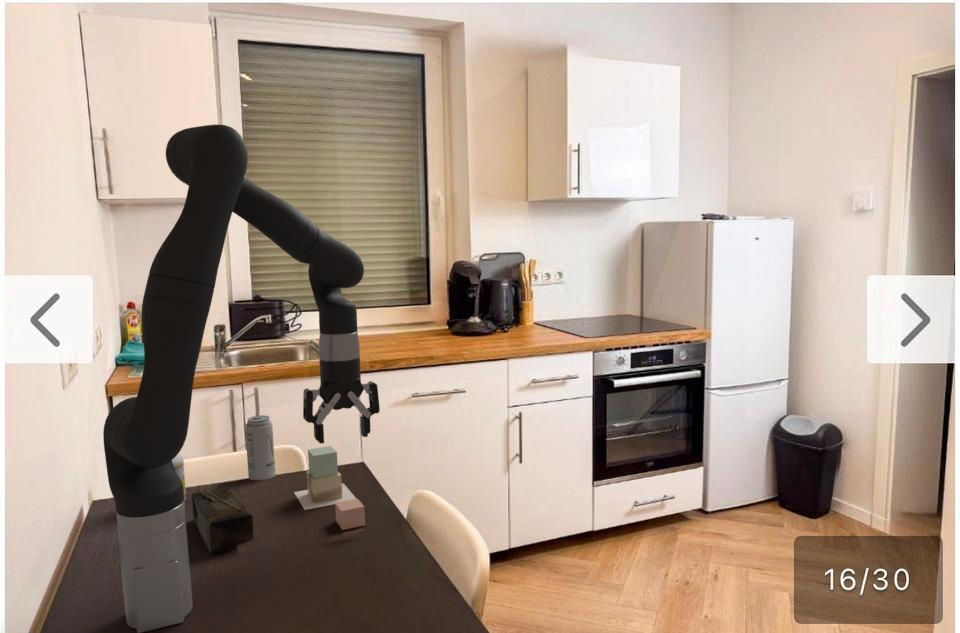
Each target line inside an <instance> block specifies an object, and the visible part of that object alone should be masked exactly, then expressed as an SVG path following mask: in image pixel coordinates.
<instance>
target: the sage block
mask: <svg viewBox="0 0 960 633" xmlns="http://www.w3.org/2000/svg"><path fill="white" fill-rule="evenodd" d="M307 457H308V459H307V460H308V471H309V472H310V474H311V475H312V477H313V478H314V479H318V478H324V477H329V476H335V475H338V472H339V471H338V469H339V467H338V465H339V464H338V452H337V450H336V449H334V448H333V446H332V445H328V446H321V447H316V448H309V449H307Z"/></svg>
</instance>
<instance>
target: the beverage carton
mask: <svg viewBox="0 0 960 633" xmlns="http://www.w3.org/2000/svg"><path fill="white" fill-rule="evenodd" d="M191 505H192V507H191V508H192V519H193V522H194V524H195V525H196V527H197V530H198V531H199V533H200V536H201V538H202V539H203V542H204V544H205V545H206V548H207V549H208V552H210V555H216V554H221V553H224V552H229V551H232V550H237V549H238V548H237V545H236V544H242V543H245V542H248V541H251V540H254V520H253V515H252V514H251V512H250V511H249V509H248V508H247V507H246V506H245V505H244V504H243V502H242V501H241V499H240V498H239V497H238V495H237V494H235V491H233V488H231V486H225V487H219V488H213V489H209V490H208V489H205V488H204V489H201V490H199V491H198V492H194V493H192V494H191Z"/></svg>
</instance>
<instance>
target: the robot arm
mask: <svg viewBox="0 0 960 633" xmlns="http://www.w3.org/2000/svg"><path fill="white" fill-rule="evenodd" d="M247 149H248V148H247V145H246V143H245V140H244V138H243V137H242V135H241V133H239V132H238V131H237V130H236V129H234V128H233V127H232V126H229V125H226V124H207V125H201V126H194V127H188V128H183V129H181V130H179V131H176V132H175V133H174V134H173V135H171V137H170V138H169V139H168V142H167V144H166V147H165V159H166V163H167V166H168V168H169V169H170V172H171V173H172V174H173V176H175V177H176V178H177V179H178V180H179V181H180V182H182V183H183V184H185V185H187V186H188V188H187V192H186V193H187V194H186V196H185V197H186V198H185V200H184V201H185V202H184V204H183V205H184V206H183V208H182V210H181V213H180V216H179V217H178V219H177V220H176V222H175V224H174V226H173V227H172V229H171V230H170V232H169V233H168V234H167V236H166V237H165V240H164V241H163V242H162V244H161V246H159V248H158V250H157V252H156V255H154V258H153V260H152V262H151V265H150V269H149V272H148V276H147V279H146V285H145V289H144V292H143V293H144V294H143V298H142V304H141V330H142V341H143V352H144V354H143V355H144V357H143V358H144V359H143V370H142V374H141V375H142V376H141V380H140V383H139V388H138V392H137V395H136V396H133V397H129V398H126V399H124V400H122V401H120V402H118V403H117V404H115V406H113V408H112V409H111V410H110V411H109V413H108V415H107V416H106V419H105V421H104V426H103V431H102V432H103V433H102V435H103V451H104V459H105V466H106V472H107V474H106V475H107V480H108V486H109V489H110V492H111V494H112V497H113V499H114V505H115V514H116V524H117V536H118V538H117V539H118V546H119V547H118V548H119V549H118V550H119V558H120V569H121V580H122V590H123V592H122V593H123V601H124V613H125V621H126V622H125V623H126V625H127V626H129V627H130V628H132V629H135V630H136V633H144V632H150V631H153V630H157V629H160V628H161V629H162V628H166V627H169V626H173V625H177V624H181V623H184V620H185V618H186V617H187V616H188V615H189V614H190V613H191V611H192V610H193V595H192V594H193V592H192V580H191V569H190V557H189V554H190V553H189V545H188V544H189V541H188V530H187V516H186V502H185V501H186V500H185V501H184V489H183V484H182V481H181V480H180V478H179V476H178V475H177V473H176V471H175V469H174V466H173V463H172V460H173V459H174V458H175V457H176V456H177V454H180V452H181V450H182V449H183V447H184V444H185V442H186V439H187V435H188V432H189V430H188V429H189V424H190V416H191V404H192V397H193V387H194V380H195V375H196V370H197V365H198V361H199V356H200V353H201V348H202V343H203V339H204V333H205V330H206V325H207V321H208V317H209V314H210V310H211V305H212V301H213V300H212V299H213V296H214V292H215V288H216V283H217V282H216V281H217V276H218V272H219V266H220V262H221V258H222V255H223V254H222V253H223V251H224V247H225V241H226V237H227V233H228V228H229V225H230V221H231V218H232V214H233V213H234V214H235V215H236V216H238V217H240V218H241V219H243V220H244V221H245V222H247V223H248V224H249V225H251V226H252V227H254V228H255V229H257V230H258V232H260V233H262V234H263V235H264V236H265V237H267V238H268V239H269V240H271V241H272V242H273V243H274V244H275V245H276V246H278V247H279V248H280V249H281V250H282V251H284V252H285V253H286V254H287V255H288V256H290V257H291V258H292V259H294V260H295V261H297V262H298V263H301V264H307V265H308V270H307V271H308V279H309V283H310V284H309V285H310V288H311V291H312V295H313V297H314V301H315V304H316V307H317V311H318V324H319V326H318V327H319V340H318V358H319V359H318V360H319V375H320V378H319V380H320V384H319V388H318V389H310V388H304V389H303V398H302V399H303V400H302V404H303V405H302V406H303V407H302V408H303V410H302V418H303V419H304V421H305V422H307V424H308V423H309V424H310V423H311V424H313V436H314V439H315V440H316V442H318V443H319V444H325V436H324V435H325V432H324V430H325V429H324V423H323V422H324V421H325V419H326V418H327V416H328V415H330V413H331V412H332V410H335V411H339V410H342V409H348V410H349V409H352V407H355V408H356V410H357V411H358V412H360V414H361V415H360V417H359V418H360V419H359V420H360V434H361V437H363V438H367V437H368V436H369V434H371V417H372V416H373V415H375V414H379V413H380V409H381V408H380V399H379V398H380V396H379V388H378V384H377V383H375V382H374V381H370V380H369V381H368V382H367V383H362V381H361V380H362V378H361V354H360V353H361V352H360V340H359V333H358V332H359V331H358V311H357V306H356V304H355V303H354V302H353V301H350V300H348V299H346V298H345V297H344V294H343V292H342V289H349V288H354V287H355V286H357V285H358V284H360V282H361V281H362V280H363V277H364V274H365V268H364V267H365V266H364V262H363V261H362V258H361V257H360V255H359V254H358V253H357V252H356V251H355V250H353V249H352V247H350V246H348V245H347V244H345V243H343V242H342V241H340V240H338V239H337V238H335V237H333V236H332V235H329V234H328V233H326V232H324V231H322V230H321V229H320V228H319V227H318V226H317V225H316V224H315V223H314V222H313V221H312V220H311V219H310V218H308V217H307V216H306V215H305V214H304V213H302V212H301V210H299V209H298V208H297V207H294V205H292V204H290V203H288V202H287V201H285V200H283V199H281V198H280V197H278V196H276V195H274V194H272V193H270V192H269V191H267V190H265V189H263V188H262V187H260V186H259V185H257V184H255V183H254V182H252V181H251V180H250V179H248V178H247V177H246V173H247V168H248V163H249V162H248V159H249V158H248V157H249V155H248V150H247ZM364 391H365V394H367V395H368V403H369V407H366V405H365V404H364V403H363V402H362V401H361V400H360V397H361V395H362V394H363V392H364ZM318 396H319V397H320V398H321V399H322V402H321V404H320V405H319V406H318V409H317V411H316V412H315V414H314V402H316V401H317V397H318Z"/></svg>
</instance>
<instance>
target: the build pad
mask: <svg viewBox="0 0 960 633" xmlns="http://www.w3.org/2000/svg"><path fill="white" fill-rule="evenodd" d="M293 493H294V495H295V497H296V498H297V500H298V501H299V503H300V504H301V506H302V508H303V509H304V511H307V510H311V509H316V508H317V509H318V508H321V507H327V506H331V505H335V503H338V502H343V501H348V500H353V499H357V497H356V496H355V495H354V494H353V493H352V492H351V490H350V489H349V488H348V487H347V486H346V484H345V483H342V498H339V499H334V500H328V501H323V502H318V503H314V502H313V501H312V499H311V498H310V496H309V495H308V489H304V490H299V491H294V492H293Z"/></svg>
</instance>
